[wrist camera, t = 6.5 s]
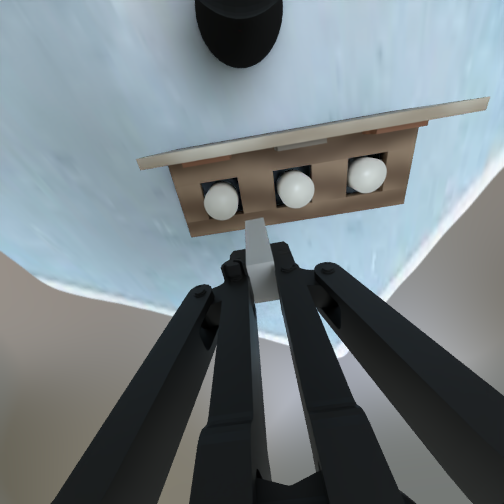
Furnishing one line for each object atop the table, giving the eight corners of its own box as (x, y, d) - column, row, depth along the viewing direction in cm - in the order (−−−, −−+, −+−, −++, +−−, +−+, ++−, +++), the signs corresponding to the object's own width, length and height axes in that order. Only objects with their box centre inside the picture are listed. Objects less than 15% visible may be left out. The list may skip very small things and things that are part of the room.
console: (176, 149, 32) (135, 159, 20) (392, 111, 31) (490, 96, 19) (198, 223, 38) (177, 265, 26) (380, 193, 37) (449, 223, 24)
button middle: (274, 171, 30) (278, 176, 26) (305, 166, 30) (314, 171, 26) (277, 202, 32) (281, 210, 29) (306, 197, 32) (314, 205, 28)
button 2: (341, 158, 31) (354, 161, 27) (372, 153, 31) (389, 155, 27) (340, 189, 33) (351, 195, 30) (368, 184, 33) (383, 190, 29)
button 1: (204, 183, 30) (200, 190, 27) (235, 178, 30) (234, 184, 27) (212, 213, 33) (208, 222, 29) (240, 208, 32) (240, 217, 29)
